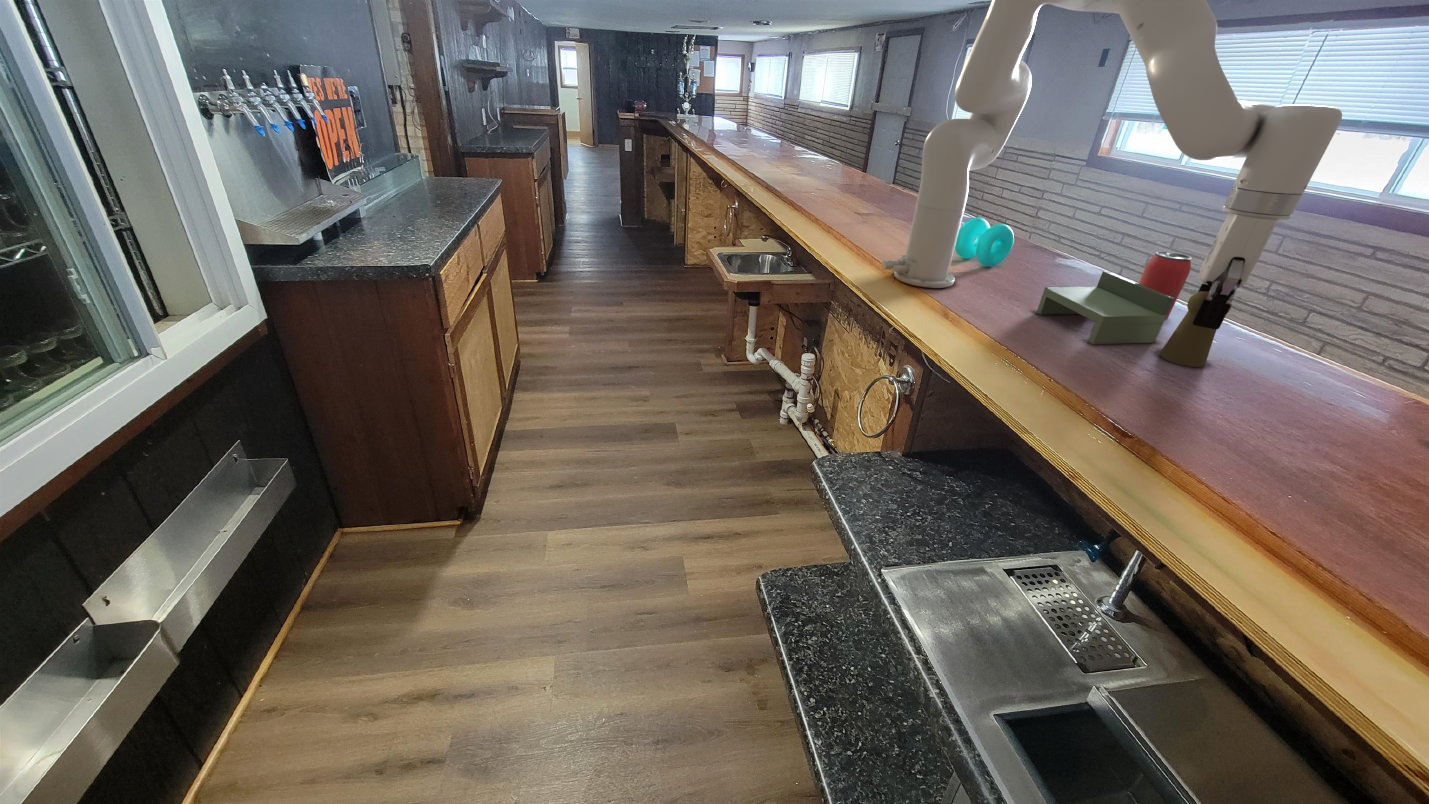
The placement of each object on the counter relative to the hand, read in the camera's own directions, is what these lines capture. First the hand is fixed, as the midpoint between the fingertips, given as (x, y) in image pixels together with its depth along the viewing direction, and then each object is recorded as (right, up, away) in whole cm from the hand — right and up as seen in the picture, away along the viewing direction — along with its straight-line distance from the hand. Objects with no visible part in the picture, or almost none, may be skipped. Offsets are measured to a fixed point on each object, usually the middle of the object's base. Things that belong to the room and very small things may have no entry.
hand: (1203, 318), depth 88 cm
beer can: (+7, +3, +21) cm, 22 cm away
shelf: (-7, +1, +15) cm, 17 cm away
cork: (0, -6, +4) cm, 7 cm away
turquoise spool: (-12, +21, +50) cm, 56 cm away
